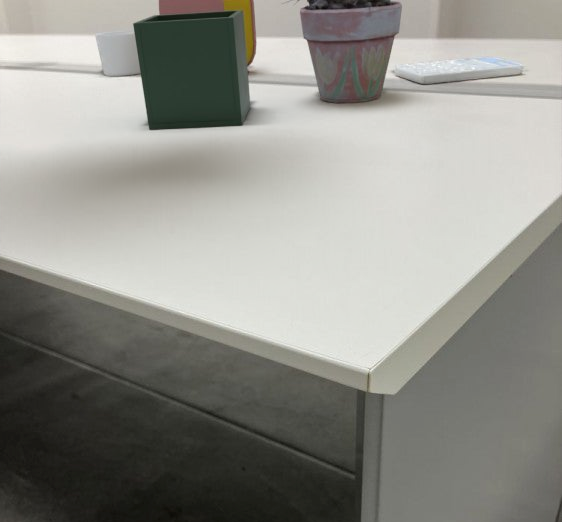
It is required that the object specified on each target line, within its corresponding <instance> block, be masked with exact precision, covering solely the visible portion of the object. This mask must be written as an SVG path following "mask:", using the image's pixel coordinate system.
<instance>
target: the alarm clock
mask: <svg viewBox="0 0 562 522" xmlns="http://www.w3.org/2000/svg"><path fill="white" fill-rule="evenodd" d="M233 10H243V14H244V27H245V41H246V54H247V67H248V68H249V66H251V64H253V62H254V59H255V56H256V54H257V30H256V15H255V2H254V0H158V13H159V14H158V15H167V14H184V13H200V12H217V11H233Z"/></svg>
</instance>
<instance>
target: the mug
mask: <svg viewBox="0 0 562 522" xmlns="http://www.w3.org/2000/svg"><path fill="white" fill-rule="evenodd" d="M94 36H95V41H96V46H97V50H98V54H99V59H100V63H101V68H102V72H103V75H104V76H107V77H125V76H135V75H141V73H140V66H139V59H138V53H137V46H136V40H135V33H134V29H124V30H112V31H111V30H110V31H103V32H99V33H95V35H94Z"/></svg>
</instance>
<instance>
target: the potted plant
mask: <svg viewBox="0 0 562 522" xmlns="http://www.w3.org/2000/svg"><path fill="white" fill-rule="evenodd" d="M292 1H293V0H288V1H285V2H283V3H281V5H283V4H286V3H289V2H292ZM299 1H300V0H296V1H295V3H294V5H296V4H297V3H298V2H299ZM306 2H307V3H308V5H305V6H304V7H301V8H300V9H299V16H300V23H301V29H302V37H303V39H304V40H306V42H307V47H308V51H309V54H310V60H311V63H312V67H313V72H314V76H315V80H316V84H317V90H318V93H319V99H320V101H323V102H329V103H333V104H356V103H357V104H358V103H365V102H371V101H375V100H378V99H380V97H382V92H383V88H384V85H385V81H386V75H387V71H388V67H389V62H390V58H391V53H392V49H393V45H394V41H395V36H396V35H398V34H399V33H400V28H401V27H400V26H401V19H402V10H403V5H402V2H400V1H394V0H306Z"/></svg>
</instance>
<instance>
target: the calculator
mask: <svg viewBox="0 0 562 522" xmlns="http://www.w3.org/2000/svg"><path fill="white" fill-rule="evenodd" d="M524 70H525V64H523V63H521V62H517V61H512V60H508V59H503V58H498V57H494V56H480V57H470V58H461V59H446V60H442V59H441V60H437V61H434V60H431V61H427V62H423V61H419V62H417V63H414V62H410V63H407V64H406V63H405V64H404V63H400V64H398V65H395V66H394V74H395V76H397V77H400V78H403V79H406V80H409V81H411V82H414V83H416V84H417V83H418V84H421V85H431V84H442V83H443V84H444V83H452V82H460V81H471V80H479V79H489V78H499V77H507V76H508V77H509V76H516V75H521V74H523V73H524Z"/></svg>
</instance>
